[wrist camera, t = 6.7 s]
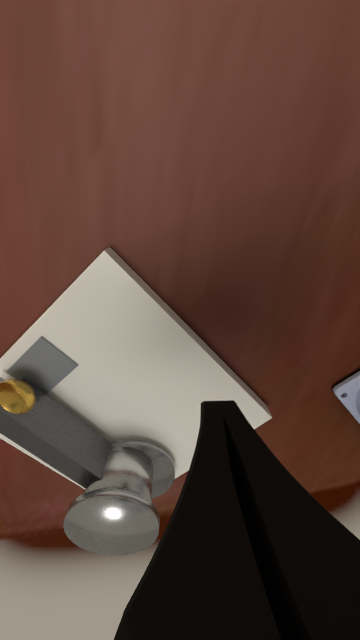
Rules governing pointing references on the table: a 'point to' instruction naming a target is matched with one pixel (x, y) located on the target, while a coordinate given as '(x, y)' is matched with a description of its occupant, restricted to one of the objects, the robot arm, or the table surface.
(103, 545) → the capstan
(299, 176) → the table surface
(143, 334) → the stand
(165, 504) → the table surface
